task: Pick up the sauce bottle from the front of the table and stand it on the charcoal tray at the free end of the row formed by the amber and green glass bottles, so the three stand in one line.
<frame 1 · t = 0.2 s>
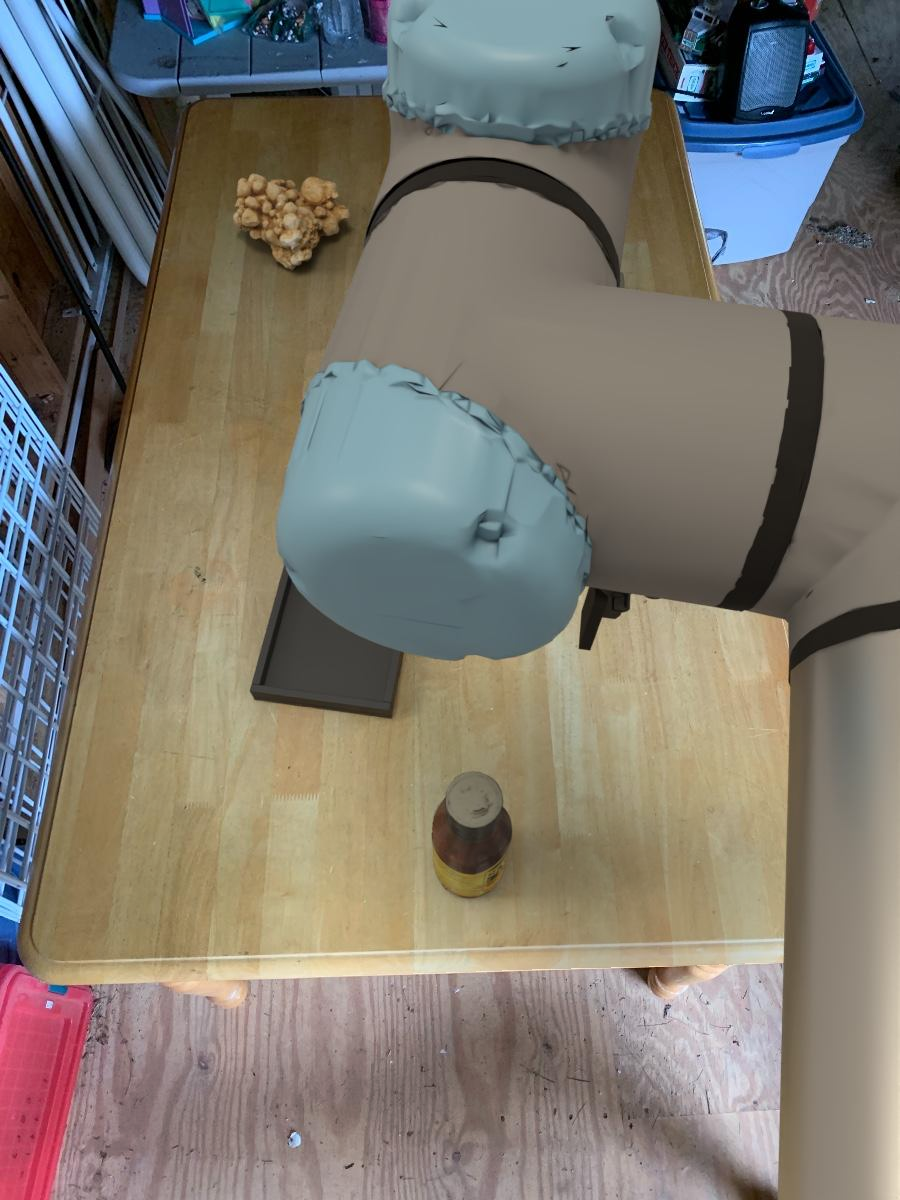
hand: (480, 617, 54), 28 cm above the table, tool pointing down, fingers open, 13 cm apart
tray: (353, 573, 88), on the table
stick grenade: (500, 311, 106), on the table
mineral formation: (289, 236, 113), on the table
amber bottle: (355, 557, 88), point 1 cm above the table, touching tray
sauce bottle: (468, 861, 74), on the table
green bottle: (371, 488, 92), point 1 cm above the table, touching tray
toy car: (610, 449, 96), on the table
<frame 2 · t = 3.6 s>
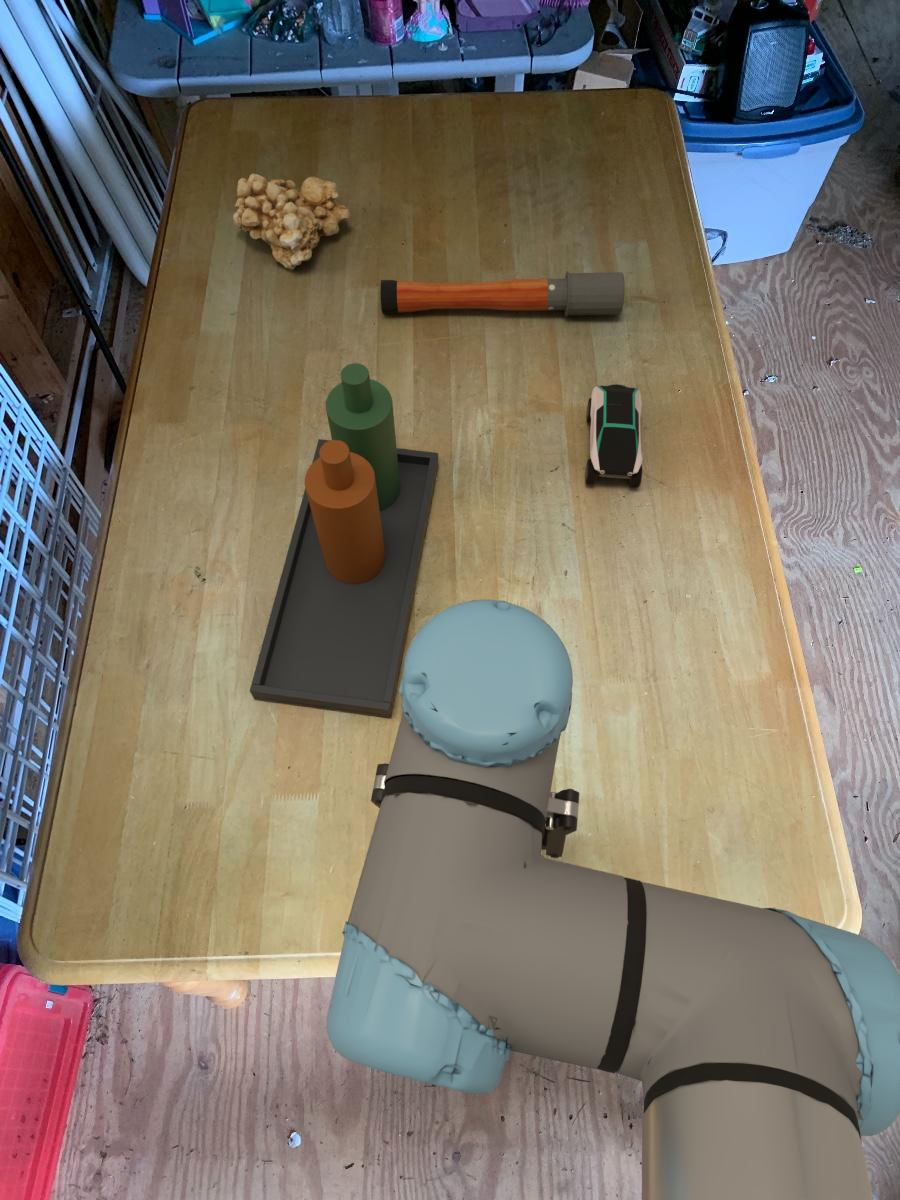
hand: (470, 848, 69), 6 cm above the table, tool pointing down, fingers closed on sauce bottle, 6 cm apart
sauce bottle: (468, 862, 74), on the table, touching gripper
everything else where it was.
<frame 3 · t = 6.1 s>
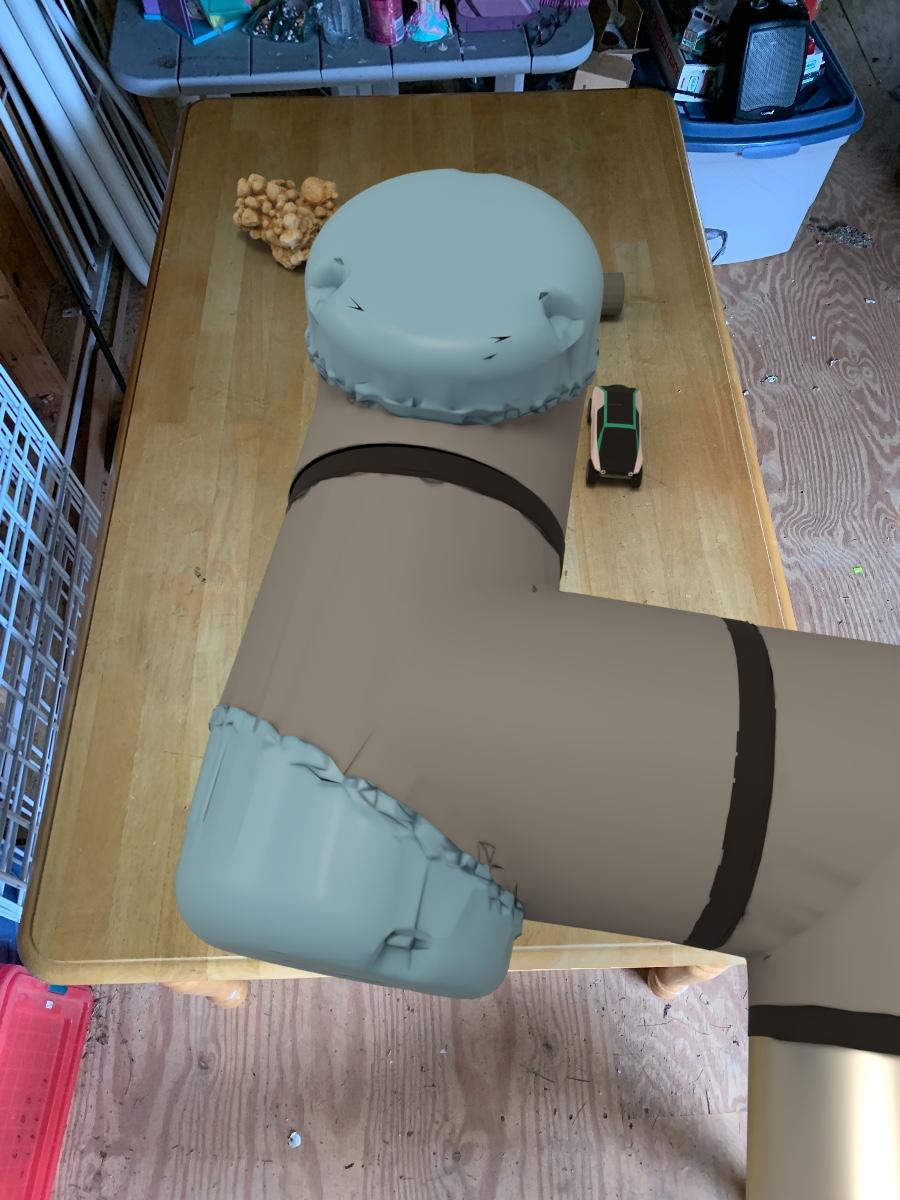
hand: (452, 744, 54), 25 cm above the table, tool pointing down, fingers closed on sauce bottle, 6 cm apart
sauce bottle: (452, 771, 59), point 19 cm above the table, touching gripper
everything else where it was.
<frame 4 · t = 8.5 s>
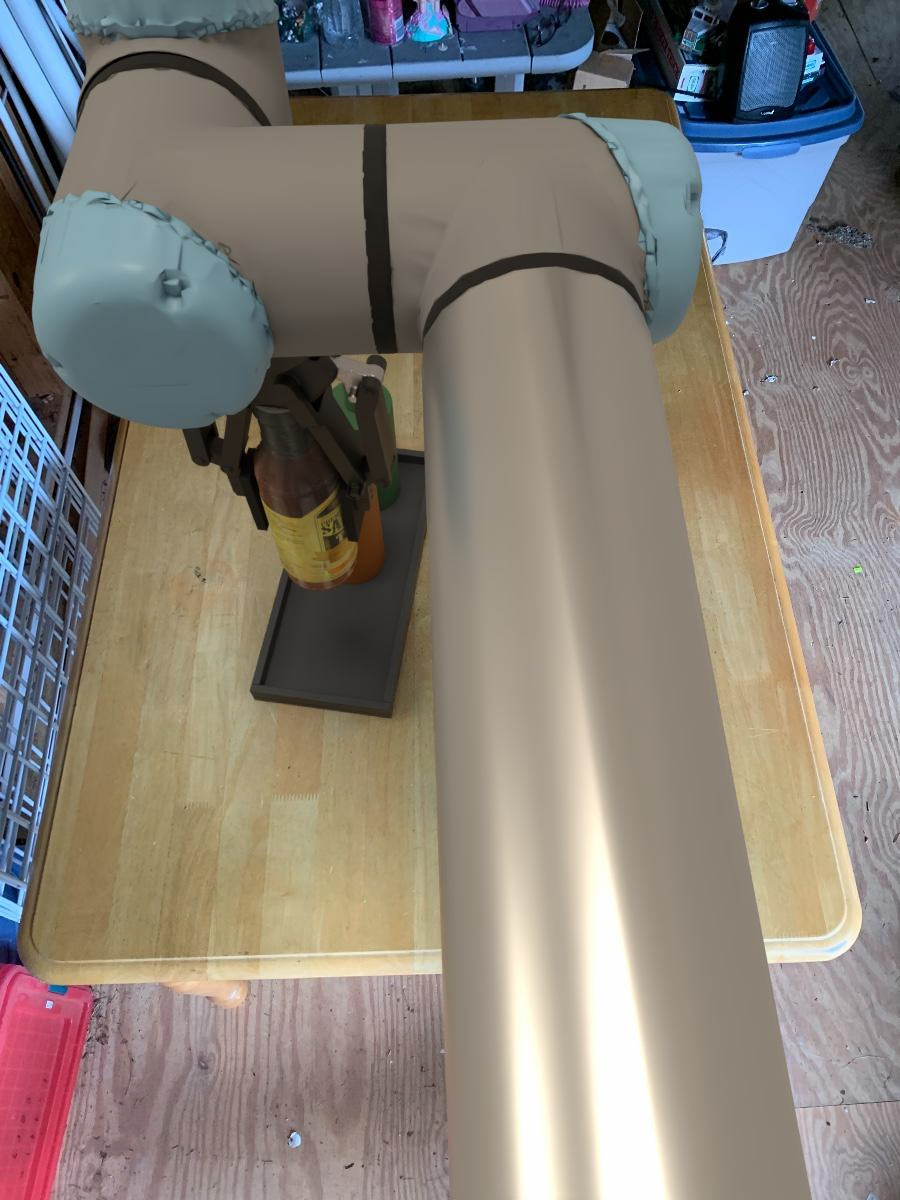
hand: (311, 520, 63), 23 cm above the table, tool pointing down, fingers closed on sauce bottle, 6 cm apart
sauce bottle: (322, 561, 69), point 17 cm above the table, touching gripper
everything else where it was.
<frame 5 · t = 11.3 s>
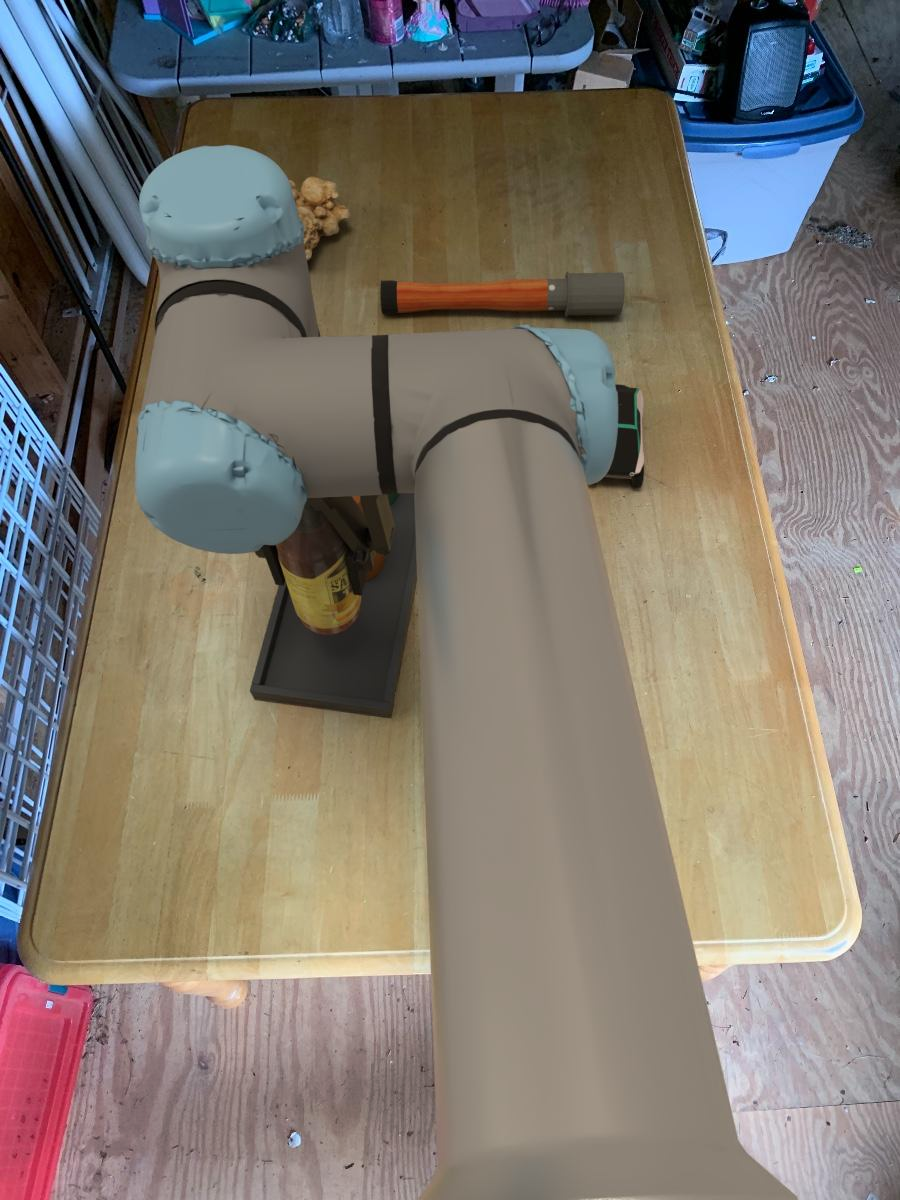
hand: (321, 576, 73), 13 cm above the table, tool pointing down, fingers closed on sauce bottle, 6 cm apart
sauce bottle: (330, 607, 79), point 6 cm above the table, touching gripper
everything else where it was.
when the fingers open (7 cm above the table, at t = 13.3 s): sauce bottle stays where it is, resting on tray.
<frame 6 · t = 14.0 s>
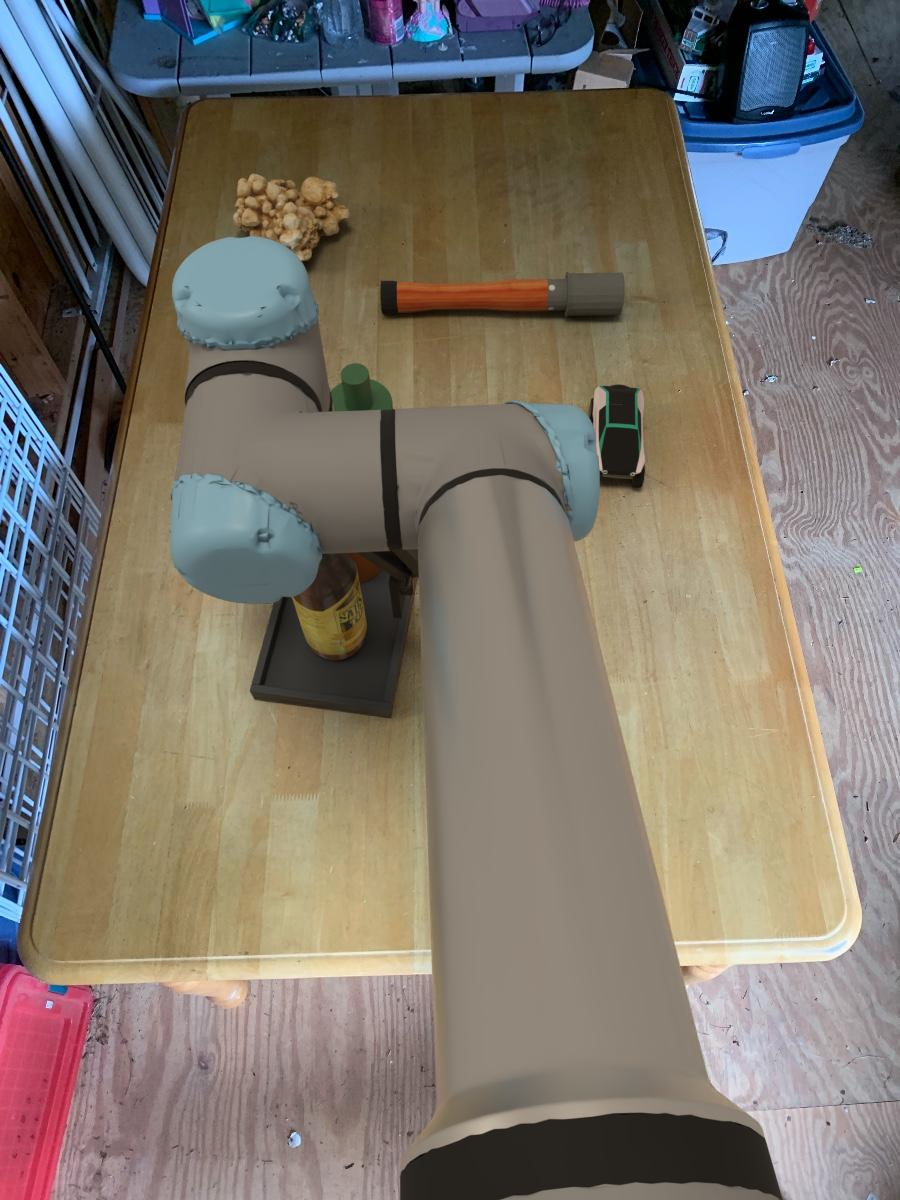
hand: (327, 595, 77), 9 cm above the table, tool pointing down, fingers open, 13 cm apart
sauce bottle: (337, 634, 84), point 1 cm above the table, touching tray
everything else where it was.
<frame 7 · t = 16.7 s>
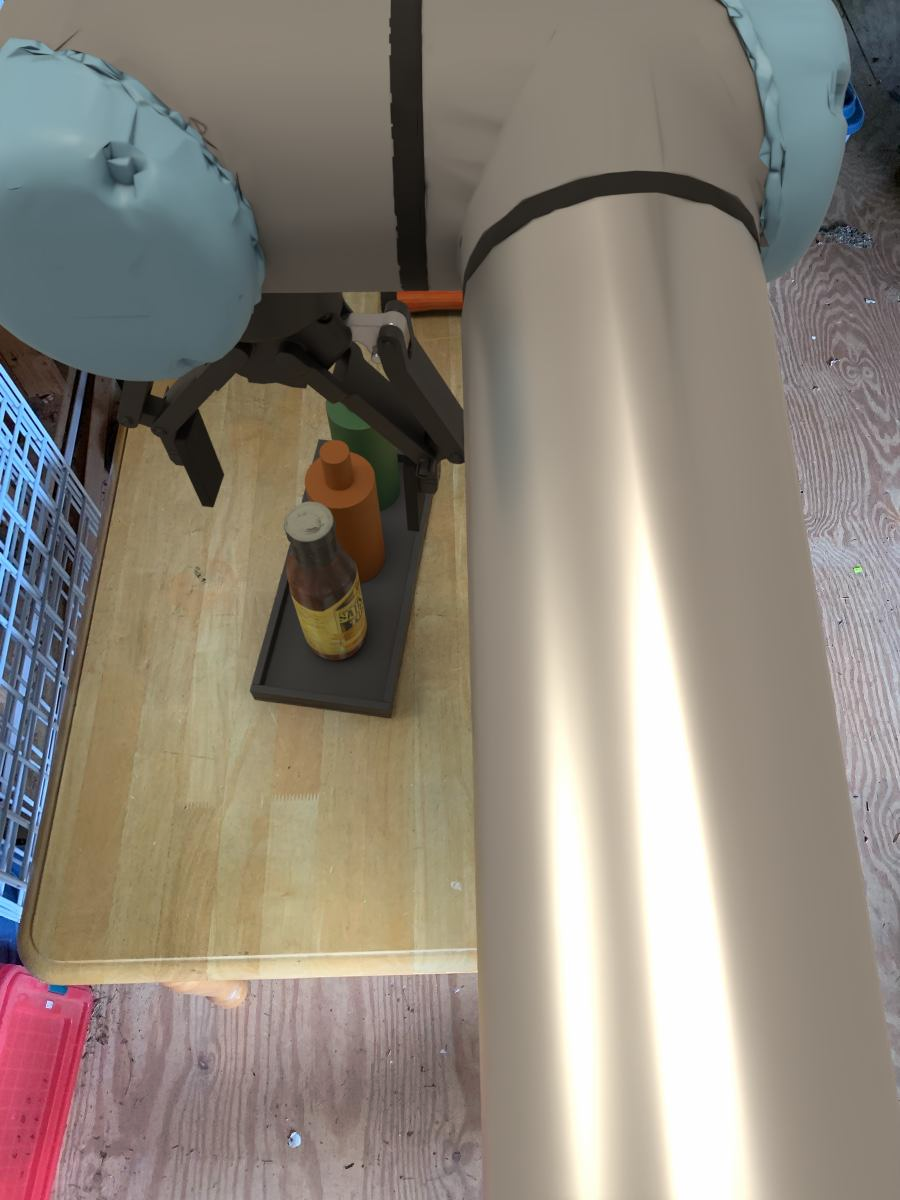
hand: (314, 502, 55), 31 cm above the table, tool pointing down, fingers open, 13 cm apart
nothing on the table moved.
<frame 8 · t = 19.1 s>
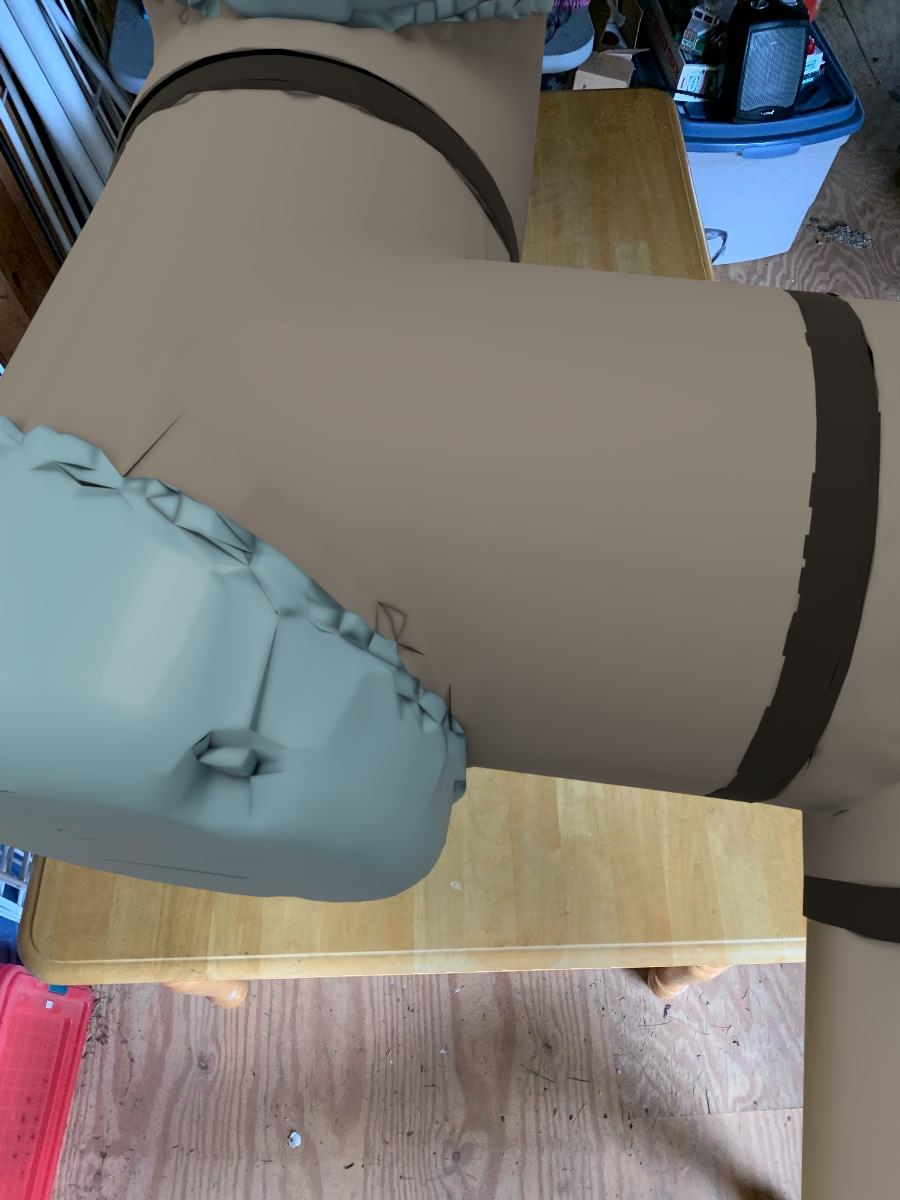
hand: (415, 673, 45), 35 cm above the table, tool pointing down, fingers open, 13 cm apart
nothing on the table moved.
at the end: sauce bottle 0.0 cm from the target spot in the tray, point 0.6 cm above the tray's base; sauce bottle tilted 0°; the gripper is holding nothing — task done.
